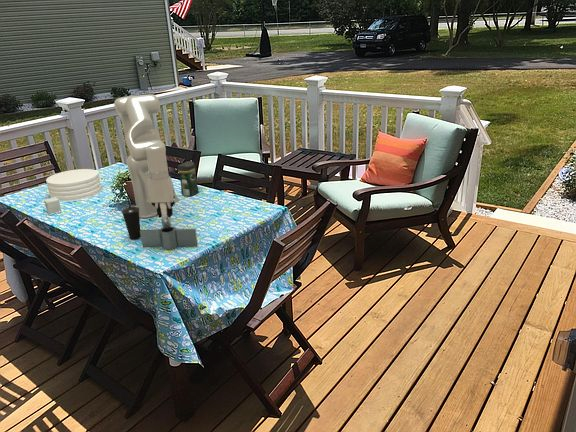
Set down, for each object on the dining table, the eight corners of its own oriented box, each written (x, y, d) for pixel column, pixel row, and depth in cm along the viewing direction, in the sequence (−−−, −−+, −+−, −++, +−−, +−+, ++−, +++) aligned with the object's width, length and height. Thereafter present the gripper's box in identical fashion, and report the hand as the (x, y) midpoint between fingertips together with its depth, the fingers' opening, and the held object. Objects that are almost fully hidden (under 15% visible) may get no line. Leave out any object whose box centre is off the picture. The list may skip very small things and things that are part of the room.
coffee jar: (189, 190, 274) (185, 159, 267) (200, 192, 271) (196, 160, 264) (179, 196, 266) (174, 164, 259) (190, 197, 263) (186, 165, 256)
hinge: (140, 250, 202) (137, 233, 199) (145, 243, 209) (142, 227, 206) (195, 249, 201) (193, 232, 198) (199, 242, 207) (197, 225, 204)
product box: (62, 212, 250) (58, 199, 247) (49, 215, 246) (46, 202, 244) (59, 209, 254) (55, 196, 252) (46, 212, 251) (43, 199, 248)
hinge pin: (159, 229, 199) (153, 195, 193) (162, 224, 204) (157, 191, 198) (171, 228, 199) (166, 195, 193) (174, 223, 203) (169, 190, 198)
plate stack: (90, 202, 263) (86, 182, 259) (41, 204, 264) (36, 184, 260) (109, 186, 289) (105, 168, 285) (64, 187, 290) (60, 169, 286)
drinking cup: (128, 234, 219) (121, 194, 211) (145, 233, 219) (138, 192, 212) (124, 241, 212) (116, 199, 204) (142, 240, 212) (134, 198, 204)
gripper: (136, 178, 190) (143, 220, 197) (176, 177, 189) (182, 219, 196) (142, 172, 197) (149, 213, 204) (181, 171, 196) (187, 212, 202)
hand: (165, 216), depth 199 cm, fingers closed on hinge pin, 3 cm apart
